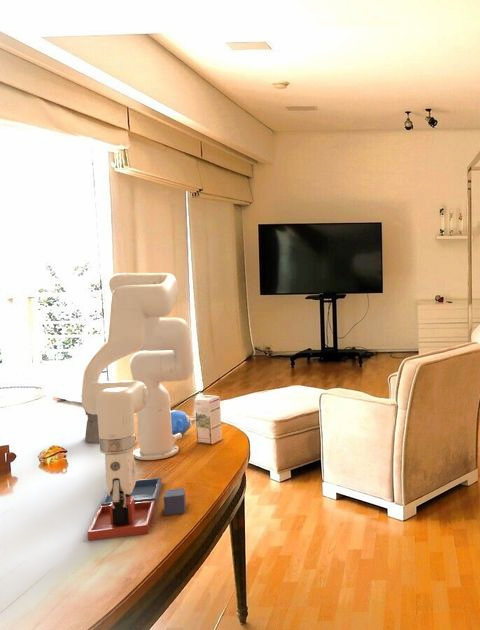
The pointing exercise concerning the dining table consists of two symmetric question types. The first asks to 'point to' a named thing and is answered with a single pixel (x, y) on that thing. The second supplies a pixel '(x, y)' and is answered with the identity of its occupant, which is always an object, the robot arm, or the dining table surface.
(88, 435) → the coffeepot
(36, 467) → the dining table surface
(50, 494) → the dining table surface
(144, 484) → the blue tray
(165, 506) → the blue block
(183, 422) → the blue mole toy
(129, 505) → the red block
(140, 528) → the red tray
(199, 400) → the syrup box
